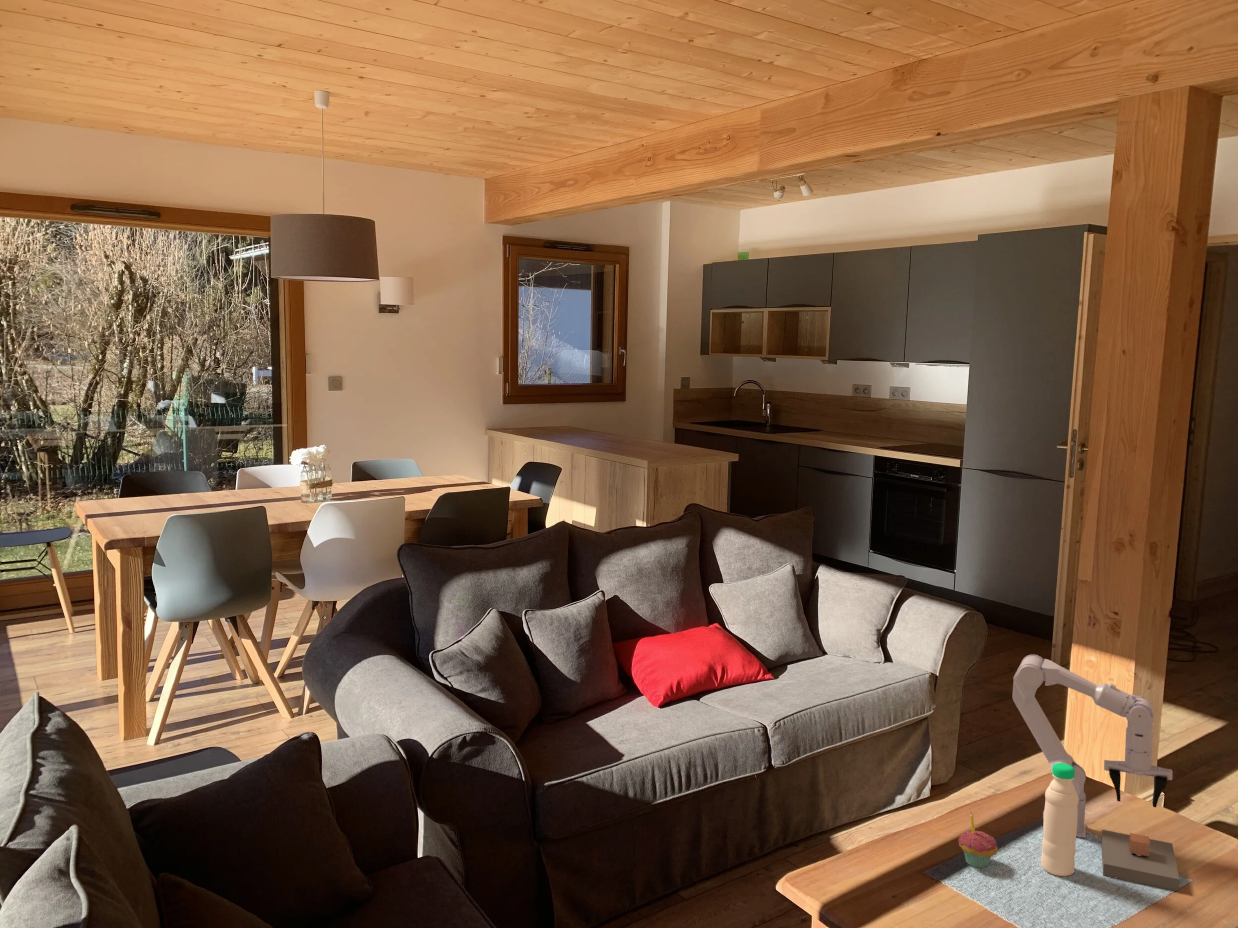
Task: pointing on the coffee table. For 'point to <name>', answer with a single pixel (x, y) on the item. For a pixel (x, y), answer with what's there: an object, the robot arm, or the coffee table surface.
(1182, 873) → the coffee table surface
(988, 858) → the cupcake
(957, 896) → the coffee table surface
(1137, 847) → the orange rectangular block
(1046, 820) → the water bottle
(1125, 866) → the base
